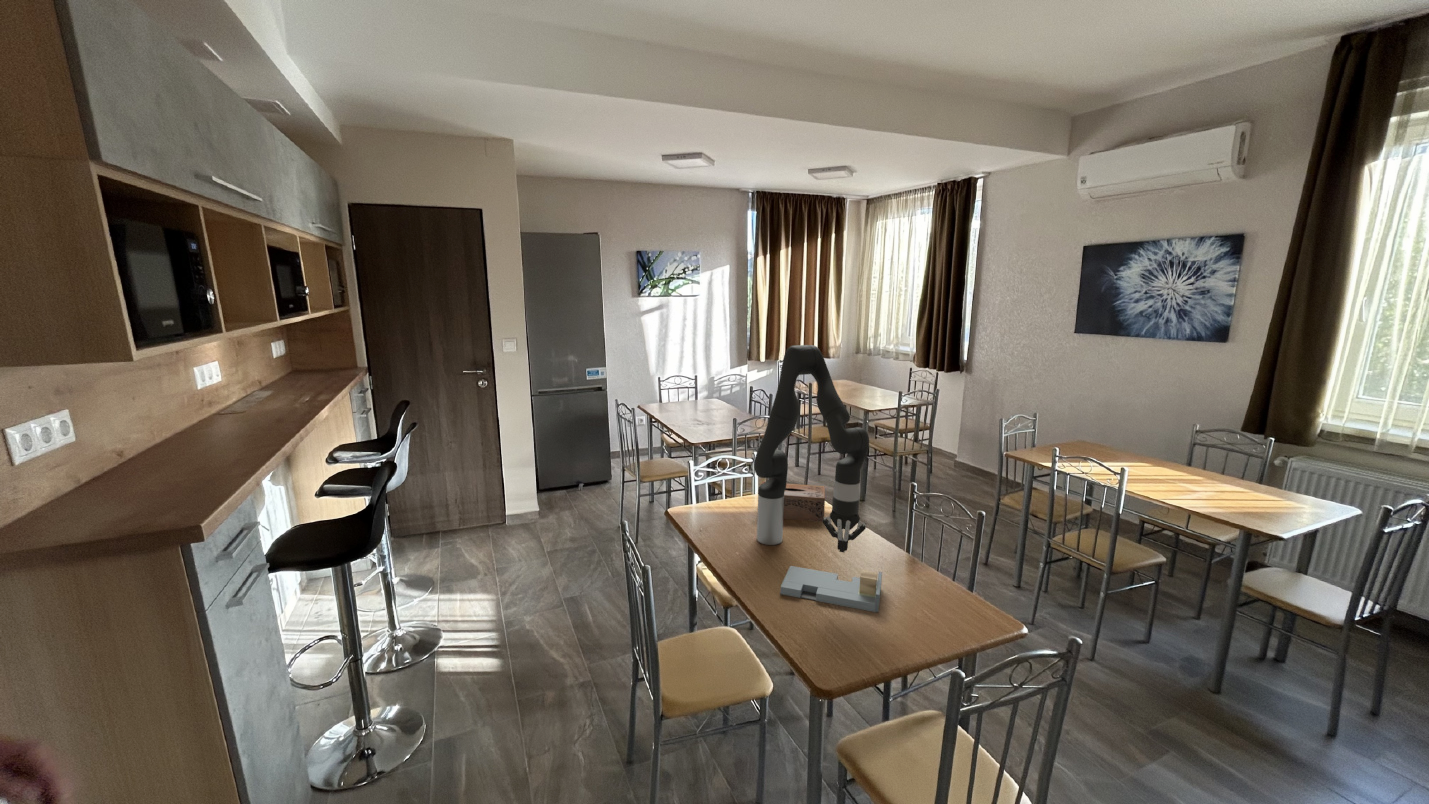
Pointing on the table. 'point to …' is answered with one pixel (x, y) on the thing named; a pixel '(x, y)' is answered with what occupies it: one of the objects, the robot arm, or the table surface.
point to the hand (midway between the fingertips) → (842, 551)
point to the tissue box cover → (804, 502)
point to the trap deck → (829, 589)
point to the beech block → (868, 582)
